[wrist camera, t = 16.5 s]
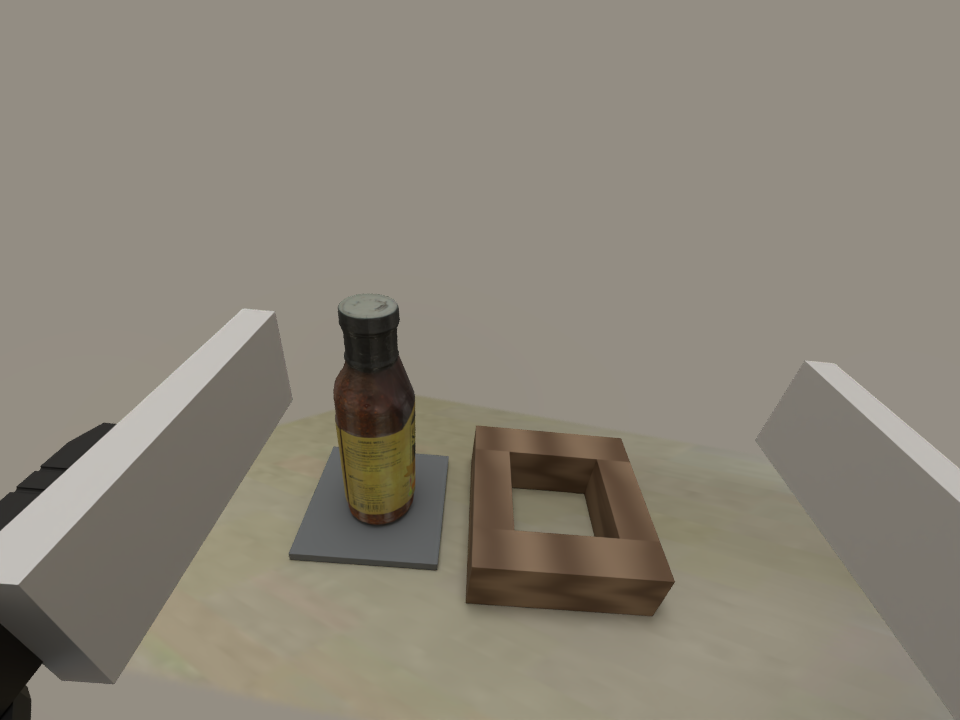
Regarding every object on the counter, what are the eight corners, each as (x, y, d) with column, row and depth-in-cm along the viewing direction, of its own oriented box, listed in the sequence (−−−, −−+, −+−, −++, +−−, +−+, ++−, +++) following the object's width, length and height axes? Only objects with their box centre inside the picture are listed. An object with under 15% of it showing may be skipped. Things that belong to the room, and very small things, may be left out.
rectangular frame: (607, 471, 46) (620, 438, 44) (652, 616, 34) (674, 581, 31) (471, 460, 46) (476, 425, 43) (465, 603, 33) (471, 567, 30)
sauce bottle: (427, 506, 39) (439, 316, 28) (365, 542, 36) (351, 340, 25) (391, 462, 43) (390, 280, 32) (332, 490, 40) (307, 296, 29)
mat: (448, 461, 45) (448, 456, 45) (437, 570, 35) (437, 564, 35) (334, 452, 45) (333, 446, 44) (290, 559, 35) (288, 553, 34)
